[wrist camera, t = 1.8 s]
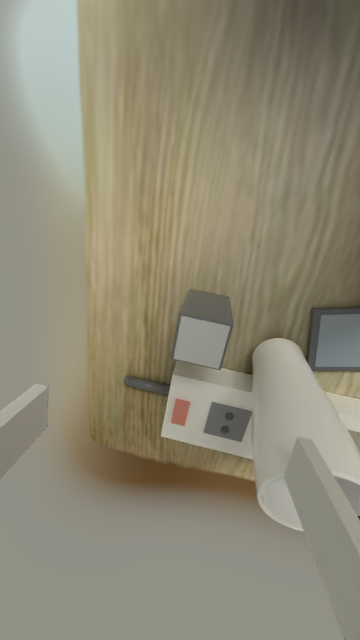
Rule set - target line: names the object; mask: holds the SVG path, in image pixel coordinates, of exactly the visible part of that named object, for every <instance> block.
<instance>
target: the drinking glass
mask: <svg viewBox="0 0 360 640" xmlns="http://www.w3.org/2000/svg"><path fill="white" fill-rule="evenodd" d="M252 367H253V389H252V457H253V468H254V477H255V485H256V492H257V500H258V503H259V505H260V507H261V508H262V510H263V511H264V512H265V513H266V514H267V515H268V516H269V517H270V518H272V519H273V520H275V521H276V522H278V523H280V524H282V525H285V526H287V527H290V528H292V529H295V530H299V531H303V532H304V530H303V527H302V524H301V522H300V519H299V516H298V514H297V511H296V508H295V506H294V503H293V500H292V497H291V495H290V492H289V489H288V487H287V484H286V481H285V479H284V476H285V470H286V468H287V465H288V462H289V459H290V456H291V454H292V451H293V448H294V445H295V442H296V440H297V437H302V438H307V439H312V441H313V442H314V444H315V446H316V447H317V449H318V451H319V453H320V454H321V456H322V458H323V459H324V461H325V463H326V464H327V466H328V468H329V469H330V471H331V473H332V474H333V476H334V478H335V479H336V481H337V483H338V484H339V486H340V488H341V489H342V491H343V493H344V494H345V496H346V498H347V500H348V501H349V503H350V505H351V506H352V508H353V510H354V511H355V513H356V515H357V516H360V453H359V451H358V449H357V447H356V445H355V443H354V441H353V439H352V437H351V435H350V433H349V431H348V430H347V428H346V426H345V424H344V423H343V421H342V419H341V418H340V416H339V414H338V413H337V411H336V409H335V408H334V406H333V404H332V403H331V401H330V399H329V398H328V396H327V394H326V393H325V391H324V389H323V388H322V386H321V384H320V383H319V381H318V379H317V378H316V376H315V374H314V373H313V371H312V369H311V368H310V366H309V364H308V363H307V361H306V359H305V356H304V354H303V352H302V350H301V349H300V347H299V346H298V345H297V344H296V343H294V342H293V341H291V340H288V339H284V338H272V339H268V340H265V341H263V342H262V343H260V344H259V345H258V346H257V347H256V348H255V350H254V352H253V355H252Z"/></svg>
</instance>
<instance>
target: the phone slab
mask: <svg viewBox="0 0 360 640" xmlns="http://www.w3.org/2000/svg"><path fill="white" fill-rule="evenodd" d="M306 361H307V363H308V364H309V366H310V368H311V369H312V370H360V307H333V308H312V311H311V321H310V330H309V340H308V349H307V359H306Z"/></svg>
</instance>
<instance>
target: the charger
mask: <svg viewBox="0 0 360 640" xmlns="http://www.w3.org/2000/svg"><path fill="white" fill-rule="evenodd" d="M232 327H233V320H232V314H231V308H230V302H229V297H226V296H221V295H216V294H212V293H207V292H202V291H197V290H192V289H190V291H189V293H188V295H187V297H186V300H185V302H184V304H183V306H182V309H181V311H180V313H179V319H178V324H177V330H176V335H175V340H174V346H173V351H172V357H171V359H173V360H177V361H182V362H186V363H190V364H195V365H199V366H204V367H208V368H212V369H217V370H221V367H222V363H223V359H224V356H225V352H226V349H227V345H228V341H229V338H230V334H231V331H232Z"/></svg>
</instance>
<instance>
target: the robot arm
mask: <svg viewBox="0 0 360 640" xmlns="http://www.w3.org/2000/svg"><path fill="white" fill-rule="evenodd" d="M47 427H48V386H43V385H38V384H35V385H34V386H32V387H31V388H30V389H28V390H27V391H26V392H25V393H23V394H22V395H21V396H19V397H18V398H17V399H16V400H14V401H13V402H12V403H11V404H9V405H8V406H7V407H5V408H4V409H3V410H1V411H0V479H1V478H2V477H3V476H4V475H5V474H6V473H7V472H8V470H9V469H10V468H11V467H12V466H13V465H14V464H15V463H16V461H17V460H18V459H19V458H20V457H21V456H22V455H23V454H24V453H25V451H26V450H27V449H28V448H29V447H30V446H31V445H32V444H33V442H34V441H35V440H36V439H37V438H38V437H39V436H40V435H41V433H42V432H43V431H44V430H45V429H46V428H47ZM284 479H285V481H286V484H287V487H288V489H289V492H290V495H291V497H292V500H293V503H294V506H295V508H296V511H297V514H298V516H299V519H300V522H301V524H302V527H303V530H304V533H305V535H306V538H307V541H308V543H309V546H310V549H311V551H312V554H313V557H314V560H315V562H316V565H317V568H318V570H319V573H320V576H321V578H322V581H323V584H324V587H325V589H326V592H327V595H328V597H329V600H330V603H331V605H332V608H333V611H334V613H335V616H336V619H337V622H338V624H339V627H340V630H341V632H342V635H343V638H344V640H360V516H357V515H356V513H355V511H354V510H353V508H352V506H351V505H350V503H349V501H348V500H347V498H346V496H345V494H344V493H343V491H342V489H341V488H340V486H339V484H338V483H337V481H336V479H335V478H334V476H333V474H332V473H331V471H330V469H329V468H328V466H327V464H326V463H325V461H324V459H323V458H322V456H321V454H320V453H319V451H318V449H317V447H316V446H315V444H314V442H313V441H312V439H307V438H302V437H297V440H296V442H295V445H294V448H293V451H292V454H291V456H290V459H289V462H288V465H287V468H286V470H285V476H284Z"/></svg>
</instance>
